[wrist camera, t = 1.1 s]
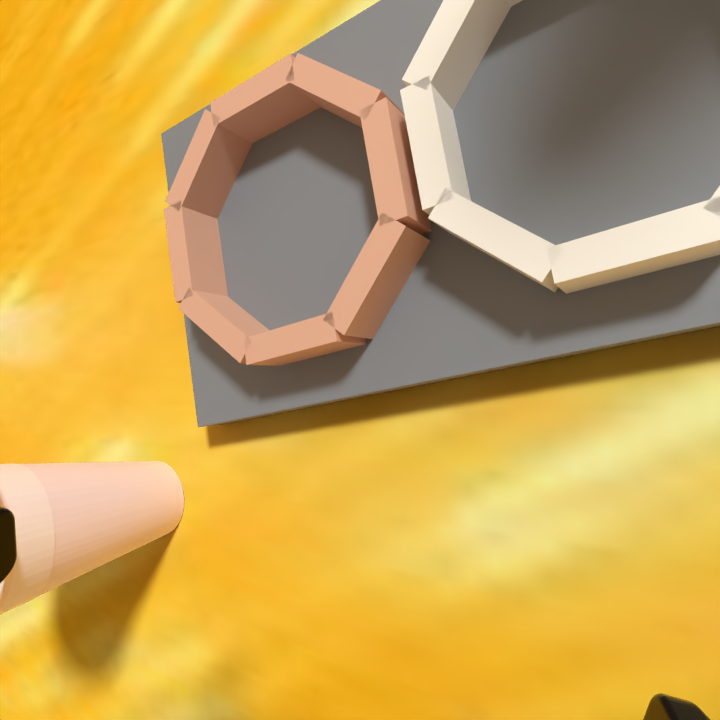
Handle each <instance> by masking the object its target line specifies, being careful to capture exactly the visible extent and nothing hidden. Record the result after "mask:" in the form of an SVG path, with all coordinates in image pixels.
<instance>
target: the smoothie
mask: <svg viewBox="0 0 720 720" xmlns="http://www.w3.org/2000/svg"><path fill="white" fill-rule="evenodd" d="M0 507H3V508H7V509H9V510H10V511H12V513H13V515H14V517H15V529H16V547H17V558H16V562H15V564H14V567H13V568H12V570H11V572H10V573H9V574H8V576H7V577H6V578H5V579H4V580H3V581H2V582H1V583H0V614H2V613H4V612H6V611H9V610H11V609H13V608H15V607H17V606H19V605H22V604H24V603H26V602H28V601H30V600H32V599H34V598H36V597H38V596H40V595H42V594H44V593H46V592H48V591H50V590H52V589H54V588H56V587H58V586H60V585H63V584H65V583H67V582H69V581H71V580H73V579H75V578H77V577H79V576H81V575H83V574H85V573H87V572H90V571H92V570H94V569H96V568H98V567H100V566H102V565H104V564H106V563H108V562H110V561H112V560H114V559H117V558H119V557H121V556H123V555H125V554H127V553H129V552H131V551H133V550H135V549H137V548H139V547H141V546H144V545H146V544H148V543H150V542H152V541H154V540H156V539H158V538H160V537H162V536H164V535H166V534H168V533H170V532H172V531H173V530H174V529H175V528H176V527H177V526H178V524H179V522H180V520H181V518H182V514H183V509H184V493H183V488H182V485H181V482H180V479H179V477H178V476H177V474H176V472H175V471H174V470H173V469H172V468H171V467H170V466H169V465H168V464H166V463H164V462H161V461H134V462H85V463H36V464H0Z"/></svg>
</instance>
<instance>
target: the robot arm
mask: <svg viewBox="0 0 720 720" xmlns="http://www.w3.org/2000/svg"><path fill="white" fill-rule="evenodd" d="M16 558H17V547H16V529H15V517H14V515H13V513H12V511H10V510H9V509H7V508H3V507H0V583H1V582H2V581H3V580H4V579H5V578H6V577H7V576H8V574H9V573H10V572H11V570H12V568H13V567H14V564H15V562H16ZM643 720H710V719H709V718H708V717H707V716H706V715H705V713H704V712H703V711H702V710H701V709H700V708H699V707H698V706H696V705H695V704H694V703H692V702H689V701H687V700H683V699H679V698H676V697H672V696H669V695H665V694H656V695H655V696H654V697H653V698H652V699H651V701H650V703H649V706H648V708H647V711H646V714H645V716H644V719H643Z"/></svg>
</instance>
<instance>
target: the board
mask: <svg viewBox="0 0 720 720" xmlns="http://www.w3.org/2000/svg"><path fill="white" fill-rule="evenodd" d="M161 135H162V143H163V151H164V159H165V167H166V175H167V183H168V191H169V194H168V196H167V198H166V200H165V201H166V202H167V203H168V204H170V206H169V207H167V208H165V209H164V213H165V221H166V229H167V237H168V245H169V253H170V261H171V270H172V278H173V286H174V294H175V302H178V303H181V304H180V306H179V309H180V310H181V311H182V312H183V313H184V319H185V327H186V335H187V343H188V351H189V359H190V367H191V375H192V383H193V391H194V399H195V407H196V415H197V423H198V427H203V426H212V425H221V424H227V423H232V422H237V421H242V420H247V419H252V418H257V417H262V416H267V415H272V414H277V413H282V412H288V411H293V410H298V409H303V408H308V407H313V406H318V405H323V404H328V403H333V402H338V401H343V400H348V399H353V398H358V397H363V396H368V395H373V394H379V393H384V392H389V391H394V390H399V389H404V388H409V387H414V386H419V385H424V384H429V383H434V382H439V381H444V380H449V379H454V378H459V377H464V376H469V375H475V374H480V373H485V372H490V371H495V370H500V369H505V368H510V367H515V366H520V365H525V364H530V363H535V362H540V361H545V360H550V359H555V358H560V357H566V356H571V355H576V354H581V353H586V352H591V351H596V350H601V349H606V348H611V347H616V346H621V345H626V344H631V343H636V342H641V341H646V340H651V339H657V338H662V337H667V336H672V335H677V334H682V333H687V332H692V331H697V330H702V329H707V328H712V327H717V326H720V0H381V1H379V2H377V3H376V4H374V5H372V6H371V7H369V8H367V9H366V10H364V11H363V12H361V13H359V14H358V15H356V16H354V17H353V18H351V19H349V20H348V21H346V22H344V23H343V24H341V25H339V26H338V27H336V28H335V29H333V30H331V31H330V32H328V33H326V34H325V35H323V36H321V37H320V38H318V39H316V40H315V41H313V42H312V43H310V44H308V45H307V46H305V47H303V48H302V49H300V50H298V51H297V52H295V53H293V54H289V55H288V56H286V57H284V58H283V59H281V60H280V61H278V62H276V63H275V64H273V65H271V66H270V67H268V68H266V69H265V70H263V71H261V72H260V73H258V74H257V75H255V76H253V77H252V78H250V79H248V80H247V81H245V82H243V83H242V84H240V85H239V86H237V87H235V88H234V89H232V90H230V91H229V92H227V93H225V94H224V95H222V96H220V97H219V98H217V99H216V100H214V101H212V102H211V103H210V105H208V106H206V107H205V108H203V109H201V110H200V111H198V112H196V113H195V114H193V115H191V116H190V117H188V118H186V119H185V120H183V121H182V122H180V123H178V124H177V125H175V126H173V127H172V128H170V129H168V130H167V131H165V132H163V133H162V134H161Z"/></svg>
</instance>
